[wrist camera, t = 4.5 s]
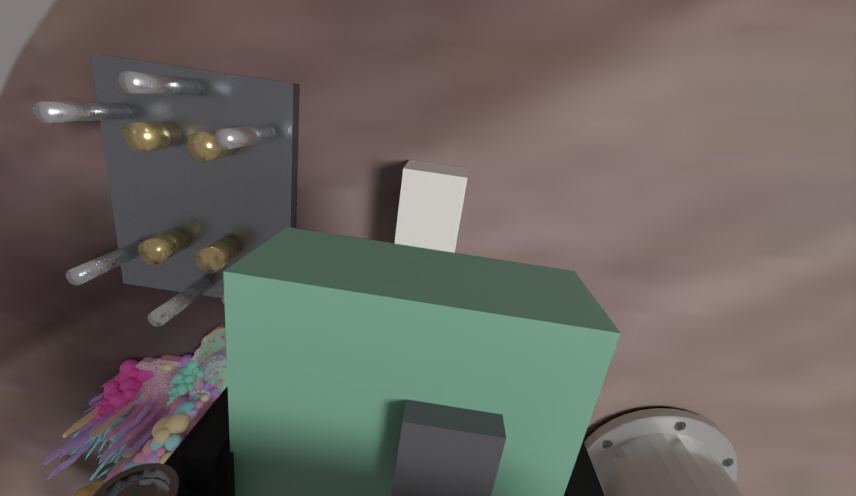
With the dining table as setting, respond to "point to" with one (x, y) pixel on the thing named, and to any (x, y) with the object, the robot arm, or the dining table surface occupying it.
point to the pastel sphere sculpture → (148, 409)
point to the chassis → (188, 172)
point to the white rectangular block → (430, 205)
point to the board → (406, 370)
